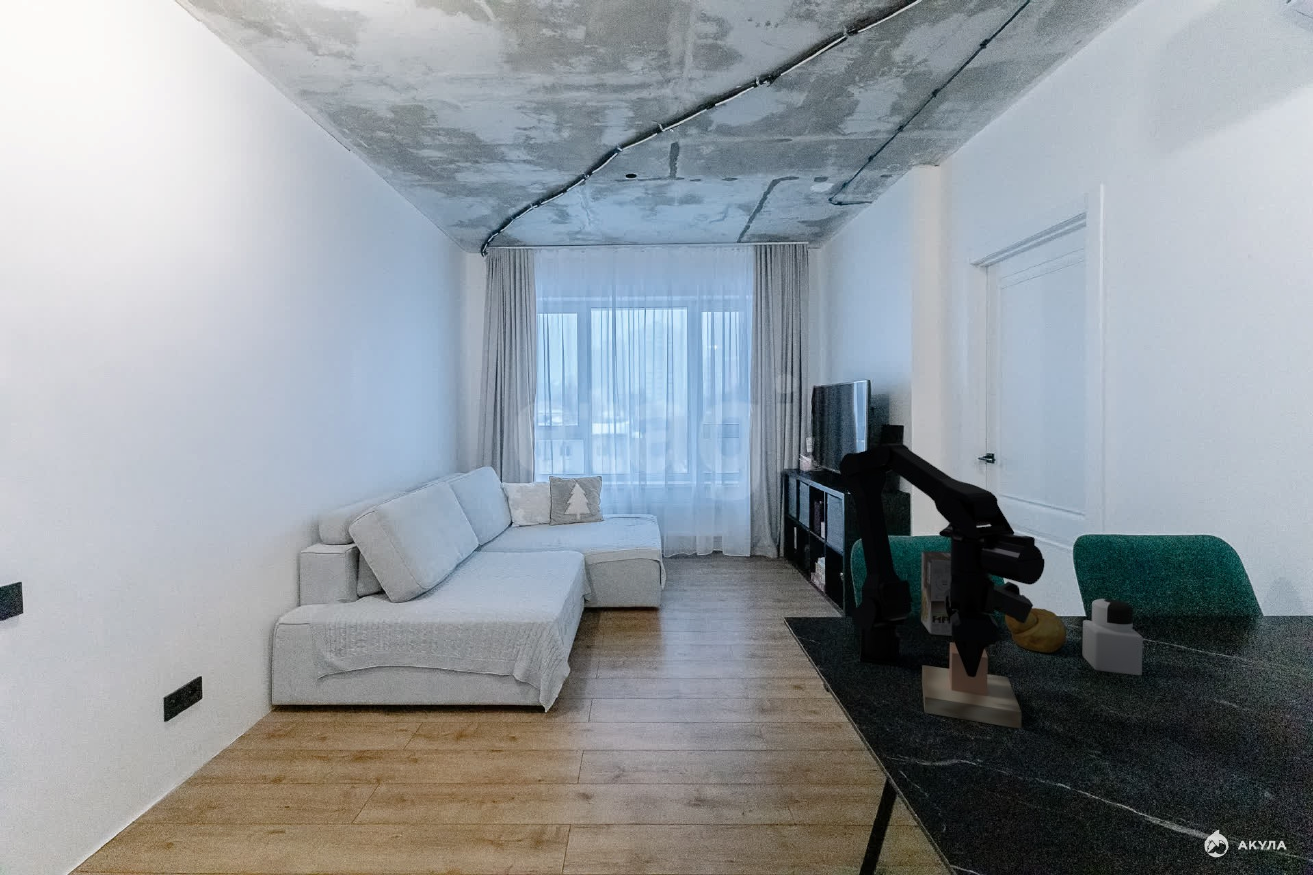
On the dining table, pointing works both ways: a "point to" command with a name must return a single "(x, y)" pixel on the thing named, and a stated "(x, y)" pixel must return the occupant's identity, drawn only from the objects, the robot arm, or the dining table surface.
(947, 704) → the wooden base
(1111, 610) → the medicine bottle
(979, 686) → the terracotta block
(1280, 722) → the dining table surface
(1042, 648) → the bread roll
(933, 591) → the coffee box
